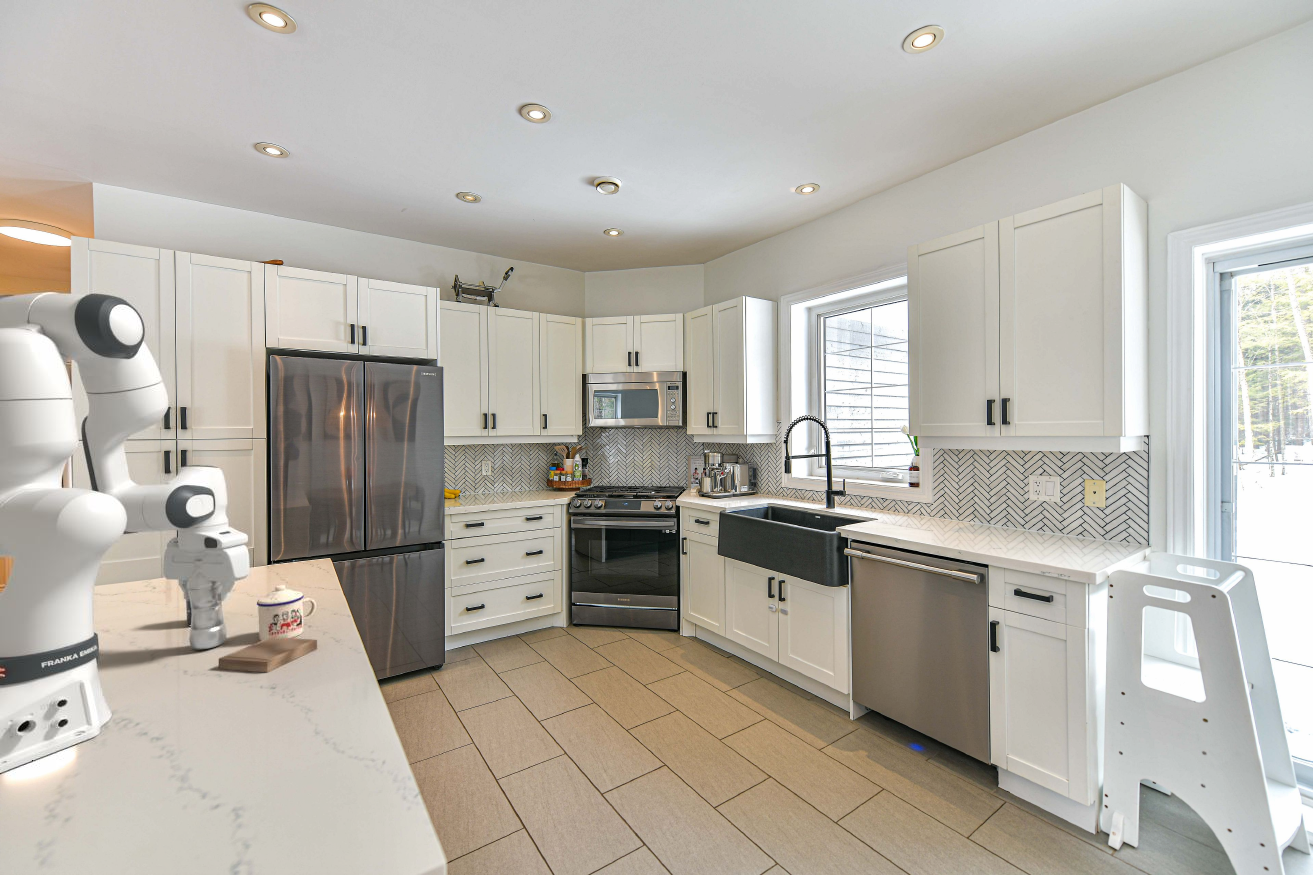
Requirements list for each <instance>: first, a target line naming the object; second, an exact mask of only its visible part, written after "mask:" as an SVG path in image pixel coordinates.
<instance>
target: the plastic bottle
mask: <svg viewBox="0 0 1313 875" xmlns="http://www.w3.org/2000/svg"><path fill="white" fill-rule="evenodd" d="M201 563H203V560H195V559H194V564H195V566H194V568H197V569H196V571H195V572H194V573H193V574H192V575H191V577H190V578H189V580H188V582H187V589H188V594H189V598H190V604H191V613H192V617H191V626H190V630H189V636H188V637H189V638H188V642H189V645H190V647H191V648H192V650H196V651H197V650H205V649H206V650H207V649H211V648H215V647H217V646H220V645H222V644H223V643H224V642H225V641H226V638H227V634H228V633H227V626H226V624H225V620H224V614H223V604H222V603H223V601H218V596H217V593H220V592H221V589H222V587H223V586H220V581H208V580H207V579H206V577H205V576H204V575H203V573H202V572H201V571H200V570H199V568H202V567H201Z"/></svg>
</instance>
